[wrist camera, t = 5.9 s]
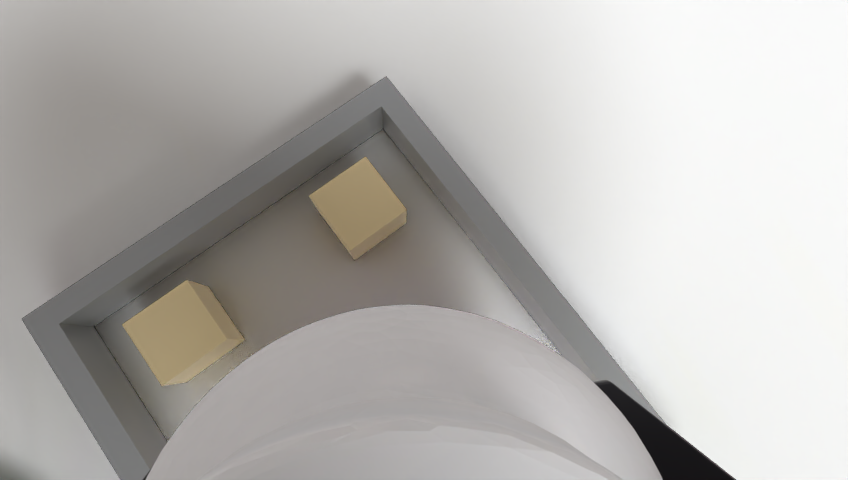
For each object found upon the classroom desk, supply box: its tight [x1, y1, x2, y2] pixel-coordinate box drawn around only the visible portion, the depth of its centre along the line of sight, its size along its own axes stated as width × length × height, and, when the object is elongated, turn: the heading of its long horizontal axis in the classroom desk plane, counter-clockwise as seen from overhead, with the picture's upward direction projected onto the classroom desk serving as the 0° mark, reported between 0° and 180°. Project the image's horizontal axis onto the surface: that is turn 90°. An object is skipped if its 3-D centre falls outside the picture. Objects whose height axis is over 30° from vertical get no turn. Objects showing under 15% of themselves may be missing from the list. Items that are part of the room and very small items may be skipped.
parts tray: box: [22, 76, 665, 480], centre depth 14 cm, size 15×12×2 cm
